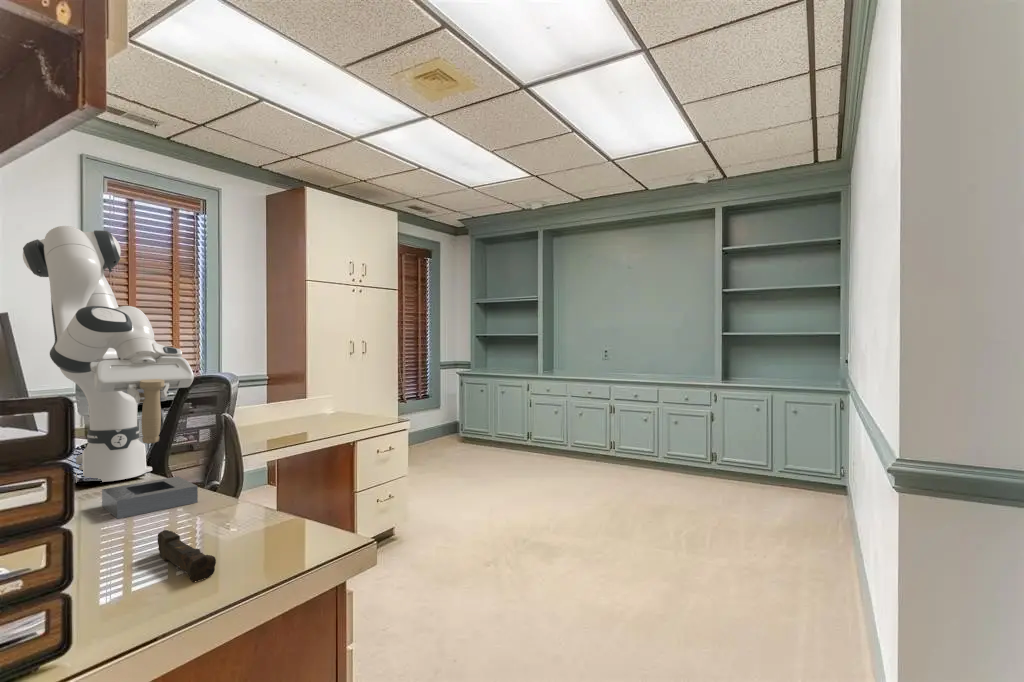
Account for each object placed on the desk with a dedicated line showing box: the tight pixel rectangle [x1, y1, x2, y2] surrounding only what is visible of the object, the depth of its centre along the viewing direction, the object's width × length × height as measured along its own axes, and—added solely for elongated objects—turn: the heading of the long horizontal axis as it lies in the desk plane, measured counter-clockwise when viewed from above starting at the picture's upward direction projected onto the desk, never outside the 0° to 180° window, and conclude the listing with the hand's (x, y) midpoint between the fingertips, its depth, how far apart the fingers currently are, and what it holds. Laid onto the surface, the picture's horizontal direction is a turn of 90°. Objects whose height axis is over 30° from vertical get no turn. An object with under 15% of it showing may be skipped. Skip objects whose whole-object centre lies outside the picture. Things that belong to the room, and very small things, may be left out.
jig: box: [101, 476, 199, 520], centre depth 128 cm, size 14×16×4 cm
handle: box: [140, 379, 164, 444], centre depth 128 cm, size 5×6×15 cm
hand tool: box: [157, 529, 217, 583], centre depth 93 cm, size 19×4×5 cm, turn 49°
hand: (152, 400), depth 128 cm, fingers closed on handle, 3 cm apart
